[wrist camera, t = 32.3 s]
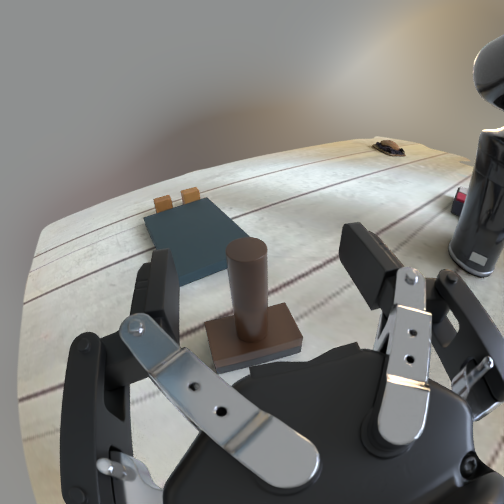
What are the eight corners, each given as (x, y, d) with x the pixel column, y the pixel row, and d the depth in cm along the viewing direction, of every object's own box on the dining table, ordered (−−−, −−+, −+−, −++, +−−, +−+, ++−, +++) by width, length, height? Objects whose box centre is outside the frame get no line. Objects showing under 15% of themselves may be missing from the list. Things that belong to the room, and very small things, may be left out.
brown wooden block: (201, 205, 49) (198, 201, 50) (199, 190, 47) (196, 186, 49) (185, 209, 48) (183, 205, 49) (183, 194, 46) (180, 190, 48)
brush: (284, 318, 28) (288, 221, 21) (300, 352, 24) (315, 255, 17) (208, 336, 26) (184, 242, 19) (217, 374, 23) (190, 283, 16)
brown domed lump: (370, 146, 82) (371, 136, 80) (388, 147, 83) (389, 137, 81) (389, 156, 74) (390, 145, 71) (407, 156, 75) (408, 146, 73)
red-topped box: (459, 184, 49) (510, 206, 39) (455, 200, 51) (505, 222, 42) (454, 196, 43) (513, 223, 33) (449, 215, 45) (506, 241, 36)
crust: (174, 213, 47) (172, 209, 49) (171, 198, 45) (169, 194, 47) (158, 218, 46) (156, 213, 48) (154, 203, 44) (153, 198, 46)
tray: (208, 204, 49) (207, 197, 48) (260, 255, 36) (260, 245, 36) (145, 225, 44) (143, 217, 44) (175, 288, 32) (172, 279, 31)
